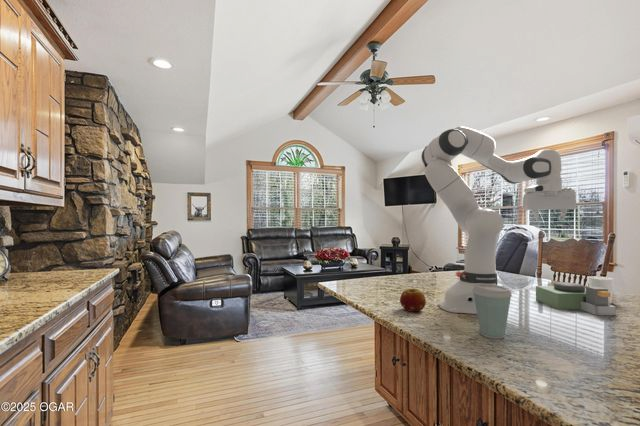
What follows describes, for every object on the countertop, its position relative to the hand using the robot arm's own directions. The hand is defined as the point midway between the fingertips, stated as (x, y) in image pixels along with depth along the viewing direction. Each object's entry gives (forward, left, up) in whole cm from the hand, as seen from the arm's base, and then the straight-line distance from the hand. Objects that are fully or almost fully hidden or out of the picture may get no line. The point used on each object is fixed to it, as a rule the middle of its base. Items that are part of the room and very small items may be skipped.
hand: (549, 220), depth 137 cm
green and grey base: (+4, -9, -34) cm, 35 cm away
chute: (+7, -15, -34) cm, 38 cm away
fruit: (-61, -16, -34) cm, 72 cm away
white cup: (+20, 0, -34) cm, 40 cm away
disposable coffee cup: (-43, -42, -34) cm, 69 cm away
